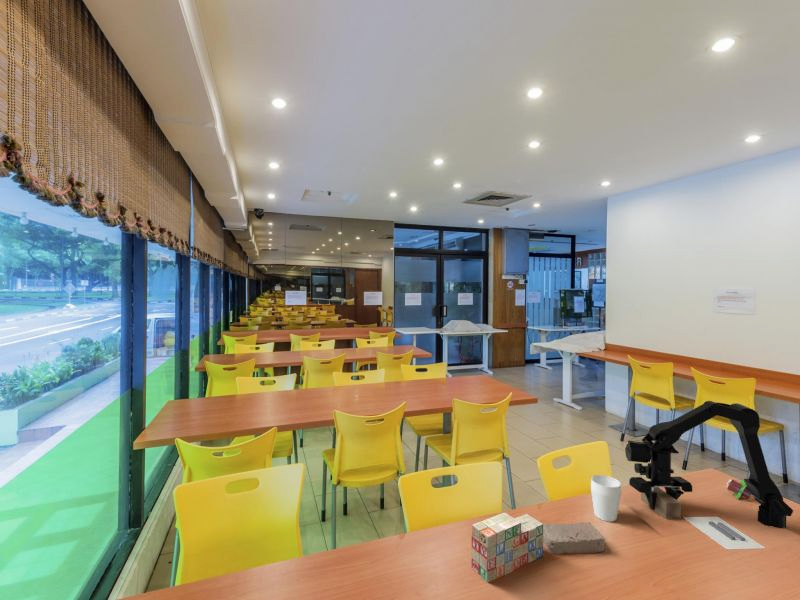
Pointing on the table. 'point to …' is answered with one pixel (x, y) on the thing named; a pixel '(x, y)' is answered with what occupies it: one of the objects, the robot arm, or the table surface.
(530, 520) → the stack of blocks
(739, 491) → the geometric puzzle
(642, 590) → the table surface
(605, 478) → the cup
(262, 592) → the table surface
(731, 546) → the board
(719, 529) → the pencil mark
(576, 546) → the brick
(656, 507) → the block
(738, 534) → the long grey stick
